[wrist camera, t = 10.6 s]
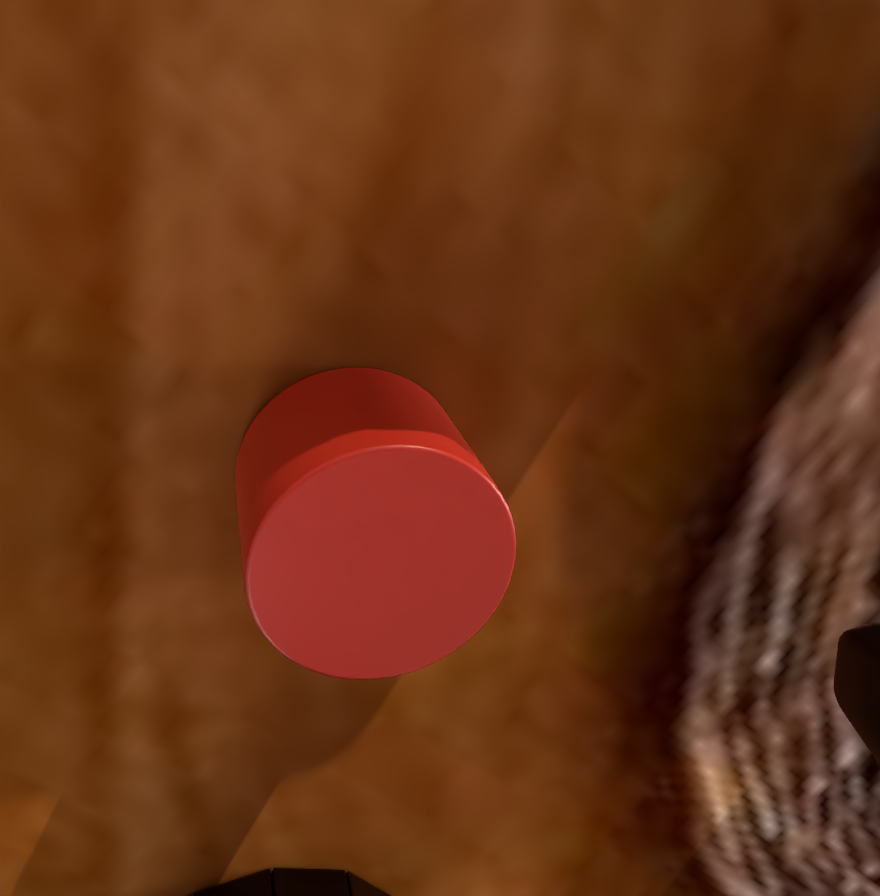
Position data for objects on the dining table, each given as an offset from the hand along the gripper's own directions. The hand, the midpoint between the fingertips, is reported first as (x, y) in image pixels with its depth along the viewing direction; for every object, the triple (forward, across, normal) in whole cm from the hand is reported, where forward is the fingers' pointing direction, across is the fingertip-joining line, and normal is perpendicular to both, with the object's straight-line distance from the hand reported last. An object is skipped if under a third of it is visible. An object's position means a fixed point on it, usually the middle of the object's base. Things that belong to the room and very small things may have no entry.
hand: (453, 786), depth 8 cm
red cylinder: (+7, 0, 0) cm, 7 cm away
